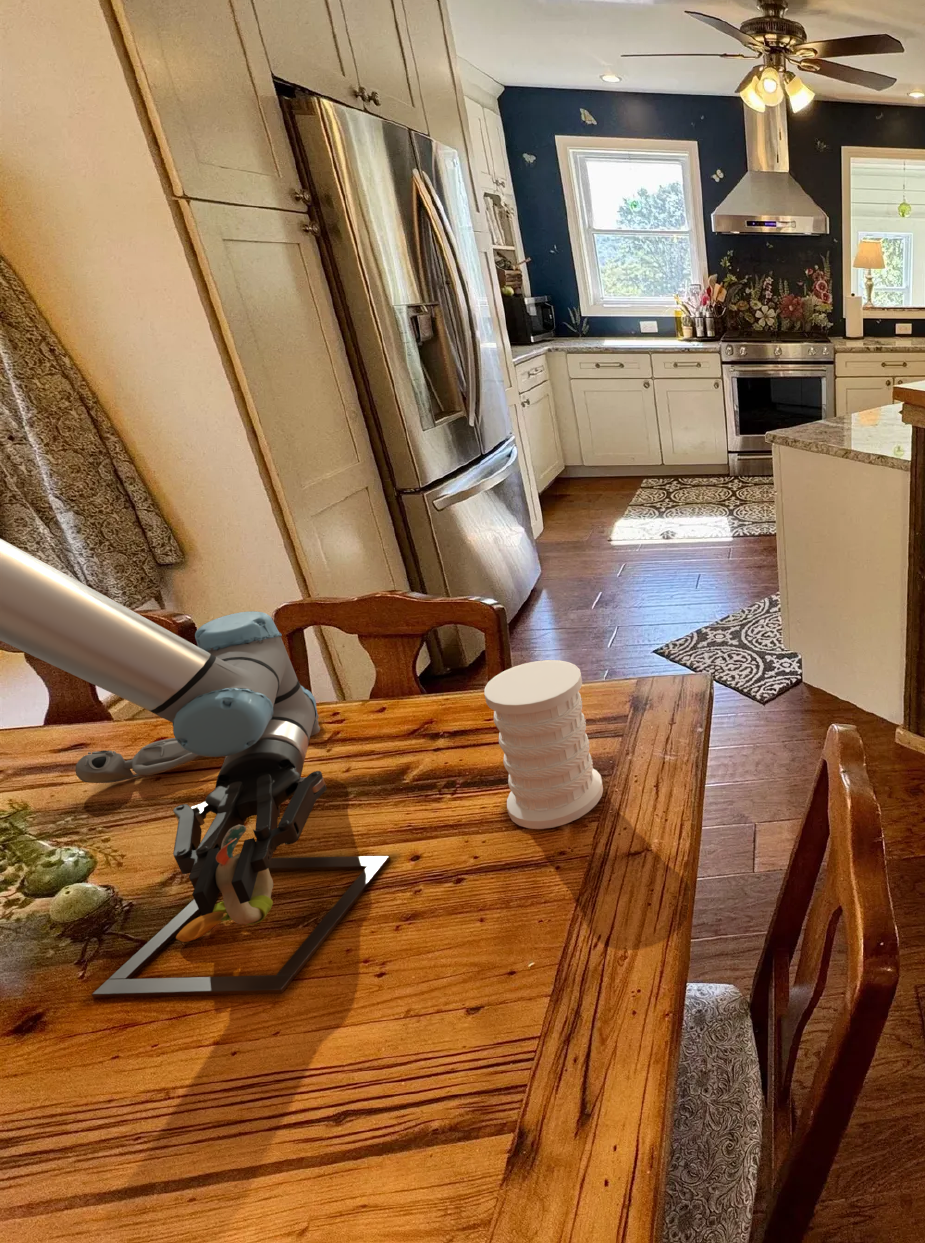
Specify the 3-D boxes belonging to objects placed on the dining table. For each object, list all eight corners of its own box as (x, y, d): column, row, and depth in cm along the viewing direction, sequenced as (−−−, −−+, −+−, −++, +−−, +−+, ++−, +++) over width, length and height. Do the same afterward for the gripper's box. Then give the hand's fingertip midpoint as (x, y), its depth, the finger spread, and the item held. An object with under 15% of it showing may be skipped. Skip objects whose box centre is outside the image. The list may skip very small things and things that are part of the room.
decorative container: (488, 811, 91) (458, 691, 85) (561, 762, 101) (539, 651, 94) (551, 840, 87) (526, 716, 80) (621, 785, 97) (604, 671, 90)
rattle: (217, 876, 77) (155, 821, 70) (300, 870, 79) (247, 815, 71) (174, 947, 72) (102, 896, 64) (264, 939, 73) (204, 888, 66)
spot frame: (93, 998, 67) (91, 994, 67) (239, 861, 83) (237, 858, 82) (282, 993, 68) (280, 989, 68) (390, 858, 84) (389, 855, 83)
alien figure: (315, 714, 103) (63, 774, 88) (323, 742, 105) (77, 806, 90) (313, 691, 109) (76, 744, 94) (320, 718, 111) (88, 774, 96)
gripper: (348, 770, 91) (330, 895, 73) (192, 810, 84) (127, 961, 65) (332, 721, 88) (309, 838, 70) (169, 758, 81) (95, 900, 63)
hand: (222, 897), depth 68 cm, fingers closed on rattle, 2 cm apart
